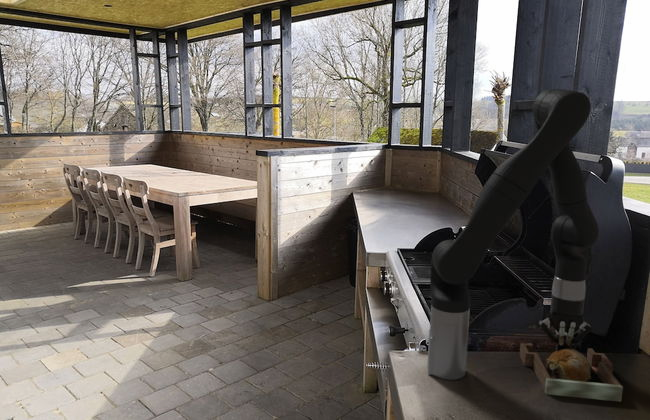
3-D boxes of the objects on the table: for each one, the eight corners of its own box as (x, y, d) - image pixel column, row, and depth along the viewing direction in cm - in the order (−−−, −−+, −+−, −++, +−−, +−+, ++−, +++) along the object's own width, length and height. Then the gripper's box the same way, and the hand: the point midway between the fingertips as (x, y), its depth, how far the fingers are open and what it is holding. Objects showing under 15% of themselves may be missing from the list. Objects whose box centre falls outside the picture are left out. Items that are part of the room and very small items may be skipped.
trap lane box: (536, 393, 113) (538, 379, 112) (519, 354, 132) (520, 342, 131) (630, 402, 109) (632, 388, 109) (598, 361, 128) (600, 349, 127)
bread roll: (585, 399, 117) (604, 373, 115) (545, 377, 118) (564, 351, 116) (574, 378, 126) (592, 354, 124) (538, 358, 128) (554, 334, 126)
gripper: (544, 297, 121) (538, 361, 125) (601, 301, 119) (594, 366, 122) (536, 287, 129) (531, 348, 132) (590, 290, 127) (583, 352, 130)
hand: (561, 356), depth 127 cm, fingers closed
